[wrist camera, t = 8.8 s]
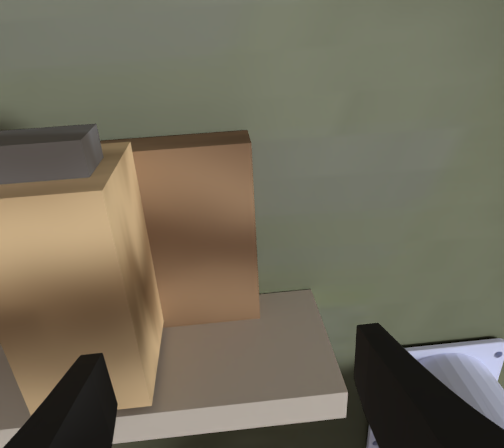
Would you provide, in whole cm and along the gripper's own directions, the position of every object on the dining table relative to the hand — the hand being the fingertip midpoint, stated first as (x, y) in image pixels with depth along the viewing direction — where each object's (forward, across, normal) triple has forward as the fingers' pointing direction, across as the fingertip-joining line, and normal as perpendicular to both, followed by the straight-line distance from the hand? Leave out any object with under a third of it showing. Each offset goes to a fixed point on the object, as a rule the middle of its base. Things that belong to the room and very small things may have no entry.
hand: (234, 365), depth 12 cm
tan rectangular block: (+8, +6, 0) cm, 10 cm away
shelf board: (+10, +6, +6) cm, 13 cm away
